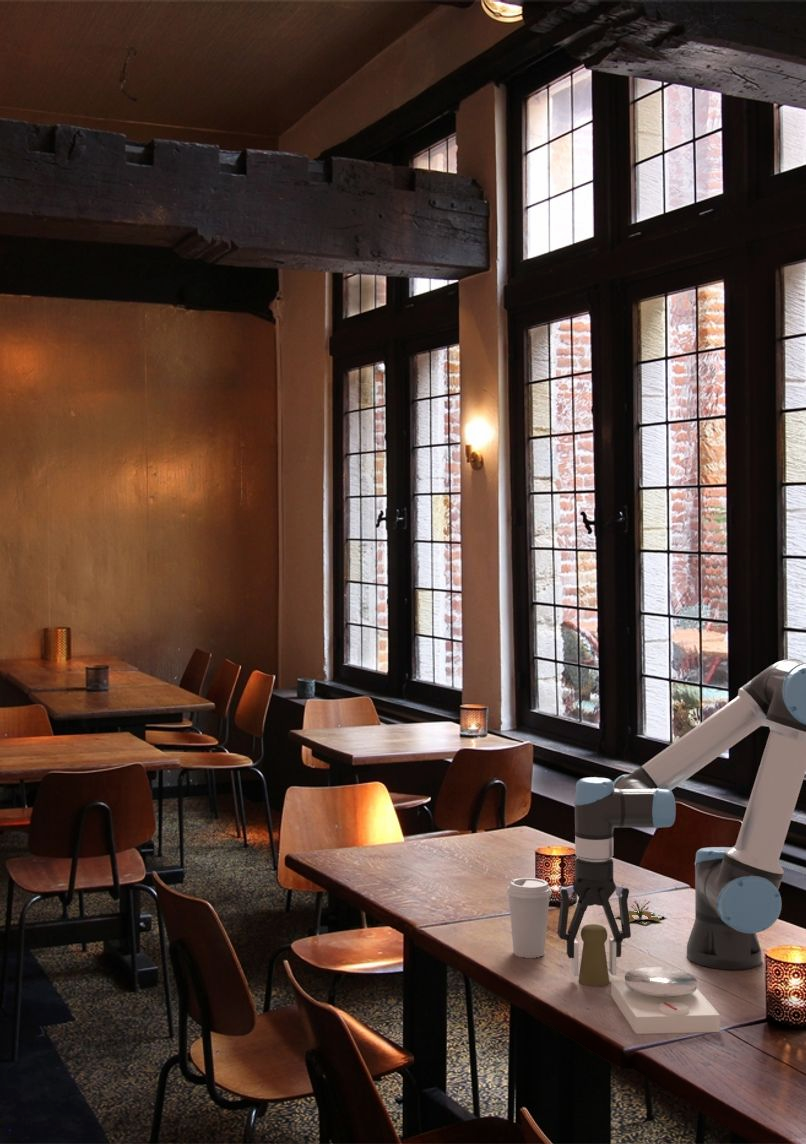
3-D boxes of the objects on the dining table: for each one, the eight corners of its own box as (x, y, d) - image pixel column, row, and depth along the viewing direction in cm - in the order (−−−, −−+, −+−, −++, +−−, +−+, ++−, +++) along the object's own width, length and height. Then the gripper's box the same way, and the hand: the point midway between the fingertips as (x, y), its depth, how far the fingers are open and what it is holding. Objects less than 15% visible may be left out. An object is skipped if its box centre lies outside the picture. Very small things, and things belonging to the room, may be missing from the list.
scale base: (688, 994, 237) (688, 973, 237) (719, 1032, 218) (719, 1009, 218) (611, 996, 236) (611, 975, 236) (635, 1033, 217) (635, 1011, 217)
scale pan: (685, 972, 236) (685, 966, 236) (705, 996, 223) (705, 990, 223) (617, 974, 235) (617, 967, 235) (634, 998, 222) (634, 991, 222)
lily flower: (604, 920, 288) (603, 900, 288) (634, 910, 296) (634, 891, 296) (647, 931, 279) (647, 911, 279) (677, 920, 288) (677, 900, 288)
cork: (608, 987, 241) (608, 931, 241) (577, 985, 242) (577, 929, 242) (610, 977, 247) (610, 922, 247) (579, 975, 248) (579, 920, 248)
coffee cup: (522, 943, 269) (522, 874, 269) (560, 952, 263) (560, 881, 263) (497, 954, 261) (497, 883, 261) (535, 963, 255) (535, 891, 255)
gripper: (638, 852, 249) (638, 966, 249) (541, 853, 248) (541, 968, 248) (648, 861, 241) (648, 978, 242) (547, 862, 240) (547, 980, 240)
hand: (593, 973), depth 245 cm, fingers open, 7 cm apart
